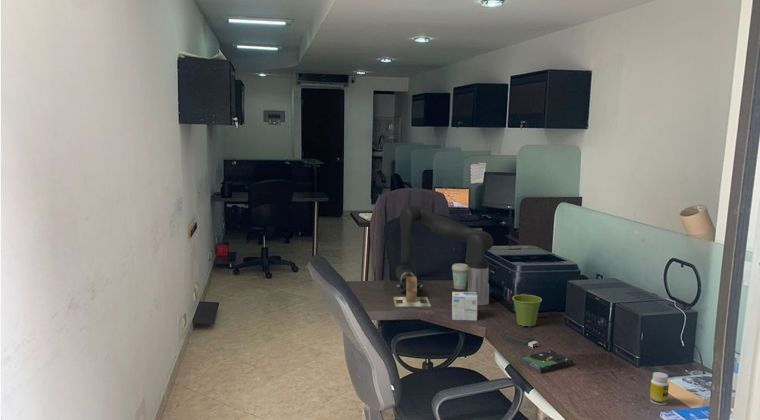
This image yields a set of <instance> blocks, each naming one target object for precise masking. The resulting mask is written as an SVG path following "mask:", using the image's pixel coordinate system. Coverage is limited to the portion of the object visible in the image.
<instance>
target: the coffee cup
mask: <svg viewBox="0 0 760 420" xmlns="http://www.w3.org/2000/svg"><path fill="white" fill-rule="evenodd" d="M468 266H469V264H467V263H461V262H460V263H453V264H452V266H451V270H452V280H453V281H452V282H453V288H454V289H456V290H465V289H467V288H466V286H467V282H468Z"/></svg>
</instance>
